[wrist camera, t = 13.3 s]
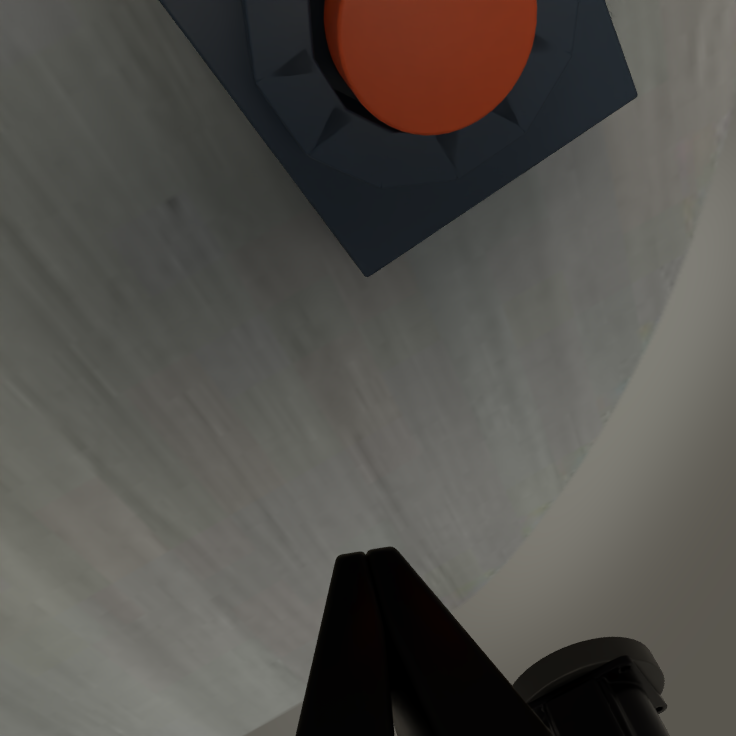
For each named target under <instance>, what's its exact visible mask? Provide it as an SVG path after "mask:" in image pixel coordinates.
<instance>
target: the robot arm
mask: <svg viewBox="0 0 736 736" xmlns="http://www.w3.org/2000/svg"><path fill="white" fill-rule="evenodd" d="M666 708H667V704H666V703H665V701H664V699H663V698H662V696H661V695H660V694H659V692H658V691H657V690H656V689H655V687H654V686H653V685H652V684H651V682H650V681H649V680H648V678H647V677H646V676H645V675H644V673H643V672H642V671H641V670H640V668H639V667H638V666H637V664H636V663H635V662H634V661H633V659H632V658H631V657H630V656H628V655H624V656H620V657H618V658H616V659H614V660H612V661H610V662H608V663H606V664H604V665H602V666H600V667H598V668H596V669H594V670H592V671H590V672H588V673H586V674H584V675H582V676H580V677H579V678H577V679H575V680H573V681H571V682H569V683H567V684H565V685H563V686H561V687H559V688H557V689H555V690H553V691H551V692H549V693H547V694H545V695H543V696H541V697H539V698H537V699H535V700H534V701H532V702H530V703H528V704H527V703H526V702H525V700H524V699H523V698H522V697H521V696H520V694H519V693H518V692H517V691H516V690H515V689H514V687H513V686H512V685H511V684H510V683H509V681H508V680H507V679H506V678H505V677H504V676H503V674H502V673H501V672H500V671H499V670H498V668H497V667H496V666H495V665H494V664H493V663H492V661H491V660H490V659H489V658H488V657H487V655H486V654H485V653H484V652H483V651H482V650H481V648H480V647H479V646H478V645H477V644H476V642H475V641H474V640H473V639H472V638H471V637H470V635H469V634H468V633H467V632H466V631H465V629H464V628H463V627H462V626H461V625H460V624H459V622H458V621H457V620H456V619H455V618H454V616H453V615H452V614H451V613H450V612H449V610H448V609H447V608H446V607H445V606H444V605H443V603H442V602H441V601H440V600H439V599H438V597H437V596H436V595H435V594H434V593H433V592H432V590H431V589H430V588H429V587H428V586H427V584H426V583H425V582H424V581H423V580H422V579H421V577H420V576H419V575H418V574H417V573H416V571H415V570H414V569H413V568H412V567H411V566H410V564H409V563H408V562H407V561H406V560H405V558H404V557H403V556H402V555H401V554H400V553H399V551H398V550H397V549H395V548H394V547H383V548H378V549H372V550H369V551H368V552H367V553H366V554H365V553H364V552H354V553H348V554H342V555H339V556H338V557H337V558H336V561H335V565H334V569H333V574H332V578H331V583H330V587H329V591H328V596H327V600H326V605H325V609H324V613H323V618H322V622H321V627H320V631H319V635H318V640H317V644H316V648H315V653H314V657H313V662H312V666H311V670H310V675H309V679H308V684H307V688H306V692H305V697H304V701H303V706H302V710H301V715H300V719H299V723H298V728H297V732H296V736H394V726H395V729H396V733H397V736H670V735H669V733H668V732H667V730H666V728H665V726H664V724H663V723H662V721H661V719H660V717H659V715H658V714H660V713H662V712H663V711H664V710H665V709H666ZM393 723H394V724H393Z"/></svg>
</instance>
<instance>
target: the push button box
mask: <svg viewBox="0 0 736 736" xmlns="http://www.w3.org/2000/svg"><path fill="white" fill-rule="evenodd" d="M159 1H160V3H161V4H162V5H163V7H164V8H165V9H166V11H167V12H168V13H169V15H170V16H171V17H172V19H173V20H174V21H175V23H176V24H177V25H178V27H179V28H180V29H181V31H182V32H183V33H184V35H185V36H186V37H187V39H188V40H189V41H190V43H191V44H192V45H193V47H194V48H195V49H196V51H197V52H198V53H199V55H200V56H201V57H202V59H203V60H204V62H205V63H206V64H207V66H208V67H209V68H210V70H211V71H212V72H213V74H214V75H215V76H216V78H217V79H218V80H219V82H220V83H221V84H222V86H223V87H224V88H225V90H226V91H227V92H228V94H229V95H230V96H231V98H232V99H233V100H234V102H235V103H236V104H237V106H238V107H239V108H240V110H241V111H242V112H243V114H244V115H245V116H246V118H247V119H248V120H249V122H250V123H251V124H252V126H253V127H254V128H255V130H256V131H257V133H258V134H259V135H260V137H261V138H262V139H263V141H264V142H265V143H266V145H267V146H268V147H269V149H270V150H271V151H272V153H273V154H274V155H275V157H276V158H277V159H278V161H279V162H280V163H281V165H282V166H283V167H284V169H285V170H286V171H287V173H288V174H289V175H290V177H291V178H292V179H293V181H294V182H295V183H296V185H297V186H298V187H299V189H300V190H301V191H302V193H303V194H304V195H305V197H306V198H307V199H308V201H309V202H310V204H311V205H312V206H313V208H314V209H315V210H316V212H317V213H318V214H319V216H320V217H321V218H322V220H323V221H324V222H325V224H326V225H327V226H328V228H329V229H330V230H331V232H332V233H333V234H334V236H335V237H336V238H337V240H338V241H339V242H340V244H341V245H342V246H343V248H344V249H345V250H346V252H347V253H348V254H349V256H350V257H351V258H352V260H353V261H354V262H355V264H356V265H357V266H358V268H359V269H360V270H361V272H362V273H363V275H364V276H365V277H369V276H371V275H372V274H374V273H375V272H377V271H378V270H380V269H381V268H383V267H384V266H386V265H387V264H389V263H390V262H392V261H393V260H395V259H396V258H398V257H399V256H401V255H402V254H404V253H405V252H407V251H408V250H410V249H411V248H413V247H414V246H416V245H417V244H419V243H420V242H422V241H423V240H425V239H426V238H428V237H429V236H430V235H432V234H433V233H435V232H436V231H438V230H439V229H441V228H442V227H444V226H445V225H447V224H448V223H450V222H451V221H453V220H454V219H456V218H457V217H459V216H460V215H462V214H463V213H465V212H466V211H468V210H469V209H471V208H472V207H474V206H475V205H477V204H478V203H480V202H481V201H483V200H484V199H486V198H487V197H489V196H490V195H492V194H493V193H495V192H496V191H498V190H499V189H501V188H502V187H503V186H505V185H506V184H508V183H509V182H511V181H512V180H514V179H515V178H517V177H518V176H520V175H521V174H523V173H524V172H526V171H527V170H529V169H530V168H532V167H533V166H535V165H536V164H538V163H539V162H541V161H542V160H544V159H545V158H547V157H548V156H550V155H551V154H553V153H554V152H556V151H557V150H559V149H560V148H562V147H563V146H565V145H566V144H568V143H569V142H571V141H572V140H573V139H575V138H576V137H578V136H579V135H581V134H582V133H584V132H585V131H587V130H588V129H590V128H591V127H593V126H594V125H596V124H597V123H599V122H600V121H602V120H603V119H605V118H606V117H608V116H609V115H611V114H612V113H614V112H615V111H617V110H618V109H620V108H621V107H623V106H624V105H626V104H627V103H629V102H630V101H632V100H633V99H635V98H636V97H637V91H636V88H635V85H634V83H633V80H632V77H631V74H630V71H629V68H628V65H627V63H626V60H625V57H624V54H623V51H622V48H621V46H620V43H619V40H618V37H617V34H616V31H615V29H614V26H613V23H612V20H611V17H610V14H609V11H608V9H607V6H606V3H605V0H537V24H536V30H535V37H534V41H533V45H532V49H531V52H530V55H529V58H528V60H527V63H526V65H525V67H524V69H523V71H522V73H521V75H520V77H519V79H518V80H517V82H516V84H515V85H514V87H513V88H512V90H511V91H510V92H509V93H508V95H507V96H506V97H505V98H504V100H503V101H502V102H501V103H500V104H498V105H497V106H496V107H495V108H494V109H493V110H492V111H491V112H490V113H488V114H487V115H486V116H484V117H483V118H481V119H480V120H478V121H476V122H475V123H473V124H471V125H469V126H467V127H465V128H463V129H460V130H457V131H454V132H451V133H446V134H440V135H416V134H410V133H406V132H402V131H399V130H397V129H395V128H392V127H390V126H388V125H386V124H385V123H383V122H381V121H380V120H378V119H377V118H376V117H375V116H373V115H372V114H371V113H370V112H369V111H368V110H367V109H366V108H365V107H364V106H363V105H362V104H361V103H360V101H359V100H358V99H357V97H356V96H355V95H354V93H353V92H352V90H351V89H350V88H349V86H348V85H347V84H346V82H345V81H344V79H343V78H342V77H341V75H340V74H339V72H338V70H337V68H336V66H335V65H334V63H333V60H332V57H331V55H330V52H329V49H328V45H327V41H326V37H325V29H324V3H325V0H159Z"/></svg>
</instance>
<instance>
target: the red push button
mask: <svg viewBox="0 0 736 736" xmlns="http://www.w3.org/2000/svg"><path fill="white" fill-rule="evenodd" d="M536 24H537V0H325V3H324V29H325V37H326V41H327V45H328V49H329V52H330V55H331V57H332V60H333V63H334V65H335V66H336V68H337V70H338V72H339V74H340V75H341V77H342V78H343V79H344V81H345V82H346V84H347V85H348V86H349V88H350V89H351V90H352V92H353V93H354V95H355V96H356V97H357V99H358V100H359V101H360V103H361V104H362V105H363V106H364V107H365V108H366V109H367V110H368V111H369V112H370V113H371V114H372V115H373V116H375V117H376V118H377V119H378V120H380V121H381V122H383V123H385V124H386V125H388V126H390V127H392V128H395V129H397V130H399V131H402V132H406V133H410V134H416V135H440V134H446V133H451V132H454V131H457V130H460V129H463V128H465V127H467V126H469V125H471V124H473V123H475V122H476V121H478V120H480V119H481V118H483V117H484V116H486V115H487V114H488V113H490V112H491V111H492V110H493V109H494V108H495V107H496V106H497V105H498V104H500V103H501V102H502V101H503V100H504V98H505V97H506V96H507V95H508V93H509V92H510V91H511V90H512V88H513V87H514V85H515V84H516V82H517V80H518V79H519V77H520V75H521V73H522V71H523V69H524V67H525V65H526V63H527V60H528V58H529V55H530V52H531V49H532V45H533V41H534V37H535V30H536Z"/></svg>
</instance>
